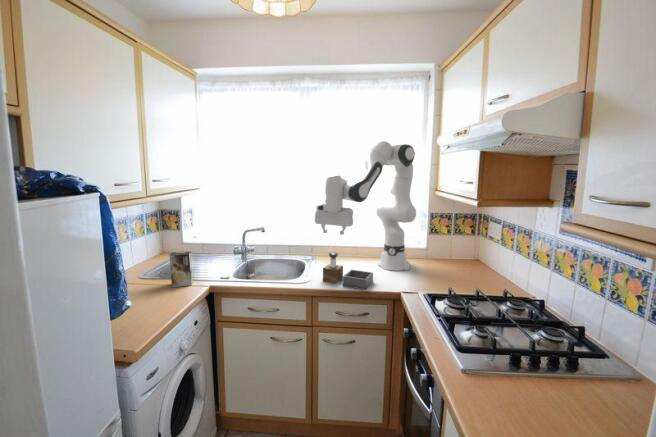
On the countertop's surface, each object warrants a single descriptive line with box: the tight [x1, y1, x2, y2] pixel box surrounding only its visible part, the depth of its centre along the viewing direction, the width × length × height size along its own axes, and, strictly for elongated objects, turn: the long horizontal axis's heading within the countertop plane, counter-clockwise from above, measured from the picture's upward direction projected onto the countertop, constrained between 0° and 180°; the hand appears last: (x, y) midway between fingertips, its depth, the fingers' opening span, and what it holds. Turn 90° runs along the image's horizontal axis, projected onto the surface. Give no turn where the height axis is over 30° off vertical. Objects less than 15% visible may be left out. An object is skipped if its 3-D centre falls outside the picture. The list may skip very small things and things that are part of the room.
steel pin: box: [328, 252, 339, 268], centre depth 164 cm, size 5×5×14 cm
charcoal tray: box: [342, 269, 374, 290], centre depth 159 cm, size 12×12×5 cm
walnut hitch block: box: [322, 263, 344, 284], centre depth 165 cm, size 8×8×7 cm
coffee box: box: [169, 251, 194, 288], centre depth 155 cm, size 9×6×16 cm
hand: (333, 233), depth 162 cm, fingers open, 8 cm apart
